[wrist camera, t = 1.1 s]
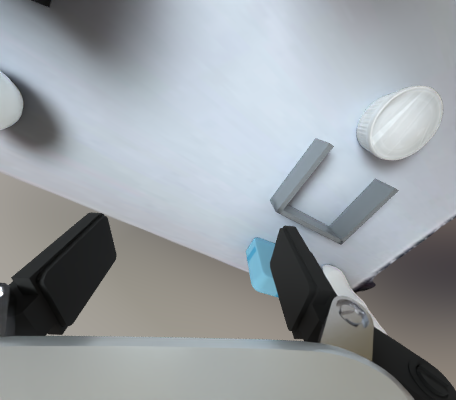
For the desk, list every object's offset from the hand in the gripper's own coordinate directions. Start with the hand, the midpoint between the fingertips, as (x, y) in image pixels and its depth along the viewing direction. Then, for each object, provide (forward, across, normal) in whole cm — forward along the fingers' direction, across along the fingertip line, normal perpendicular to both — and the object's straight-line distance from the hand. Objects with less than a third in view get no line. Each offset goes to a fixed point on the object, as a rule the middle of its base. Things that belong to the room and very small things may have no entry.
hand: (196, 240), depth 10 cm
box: (+27, -25, +7) cm, 38 cm away
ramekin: (+28, -30, -6) cm, 42 cm away
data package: (+28, -16, +25) cm, 41 cm away
